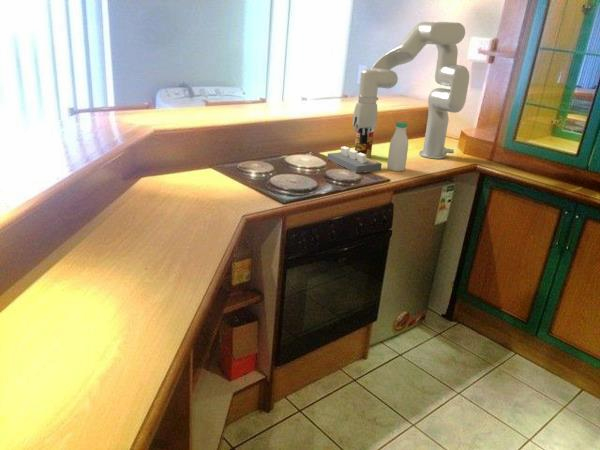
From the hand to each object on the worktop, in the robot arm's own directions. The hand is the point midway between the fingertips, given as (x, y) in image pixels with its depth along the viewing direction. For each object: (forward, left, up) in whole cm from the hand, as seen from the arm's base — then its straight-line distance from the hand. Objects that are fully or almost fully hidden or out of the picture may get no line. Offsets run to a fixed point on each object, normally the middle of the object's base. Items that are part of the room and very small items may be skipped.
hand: (363, 143), depth 212 cm
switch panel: (+4, +2, -9) cm, 10 cm away
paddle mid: (+4, +2, -6) cm, 8 cm away
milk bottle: (-15, +5, -10) cm, 18 cm away
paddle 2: (+1, +7, -6) cm, 10 cm away
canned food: (-3, -15, -10) cm, 18 cm away
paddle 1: (+7, -3, -6) cm, 10 cm away
